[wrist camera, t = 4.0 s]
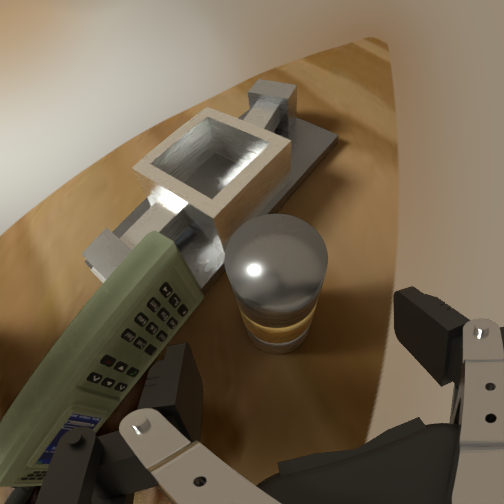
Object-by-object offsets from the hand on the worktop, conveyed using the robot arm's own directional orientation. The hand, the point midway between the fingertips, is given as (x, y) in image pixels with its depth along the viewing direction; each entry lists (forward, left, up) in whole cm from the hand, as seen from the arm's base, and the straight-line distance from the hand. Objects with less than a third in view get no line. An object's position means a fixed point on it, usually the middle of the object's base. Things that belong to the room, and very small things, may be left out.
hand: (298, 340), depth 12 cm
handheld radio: (-14, +4, -9) cm, 17 cm away
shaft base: (+3, +14, -8) cm, 17 cm away
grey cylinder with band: (+1, +3, -8) cm, 9 cm away
